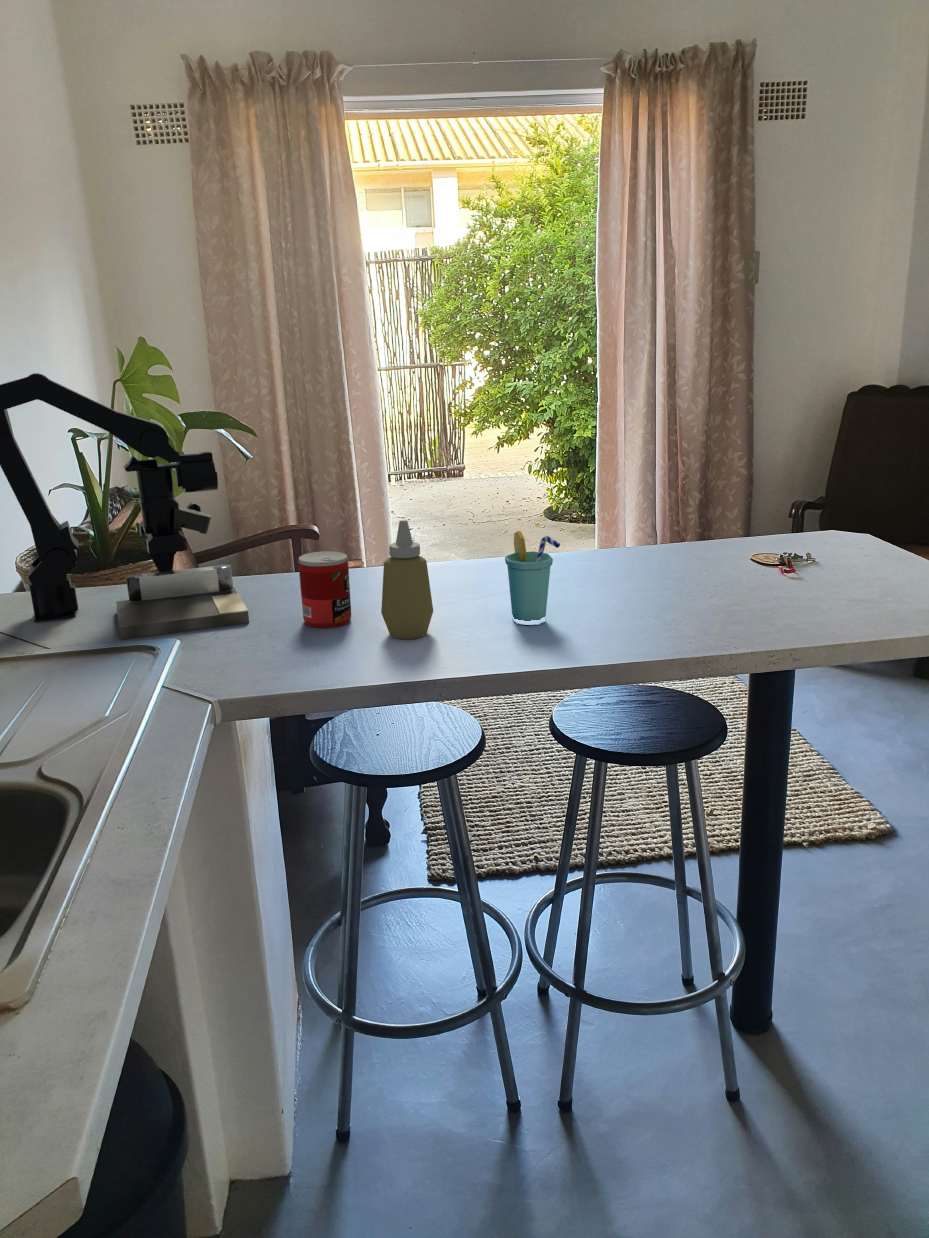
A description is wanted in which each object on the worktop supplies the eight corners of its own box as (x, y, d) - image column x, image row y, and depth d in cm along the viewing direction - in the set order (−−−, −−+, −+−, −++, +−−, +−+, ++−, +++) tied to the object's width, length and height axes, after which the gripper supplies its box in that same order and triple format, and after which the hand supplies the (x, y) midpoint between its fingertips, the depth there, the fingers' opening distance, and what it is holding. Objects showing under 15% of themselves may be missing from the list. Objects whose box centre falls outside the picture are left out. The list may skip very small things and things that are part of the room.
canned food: (343, 629, 142) (338, 563, 139) (296, 627, 144) (290, 561, 141) (358, 615, 150) (354, 551, 146) (313, 613, 151) (308, 550, 148)
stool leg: (232, 585, 160) (229, 564, 159) (234, 590, 157) (232, 568, 156) (128, 597, 154) (125, 575, 153) (129, 602, 151) (126, 579, 150)
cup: (577, 629, 140) (579, 535, 135) (536, 638, 136) (537, 542, 132) (527, 608, 151) (527, 521, 147) (488, 615, 148) (487, 526, 143)
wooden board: (120, 639, 140) (118, 626, 139) (117, 612, 154) (116, 600, 154) (249, 622, 147) (247, 609, 146) (235, 598, 161) (234, 586, 161)
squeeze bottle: (441, 628, 142) (438, 516, 136) (422, 644, 135) (418, 527, 129) (394, 624, 144) (389, 514, 139) (374, 640, 137) (367, 525, 132)
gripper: (212, 499, 150) (222, 588, 154) (197, 484, 166) (206, 565, 171) (143, 505, 145) (155, 597, 150) (133, 489, 162) (145, 572, 166)
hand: (168, 582), depth 159 cm, fingers closed
